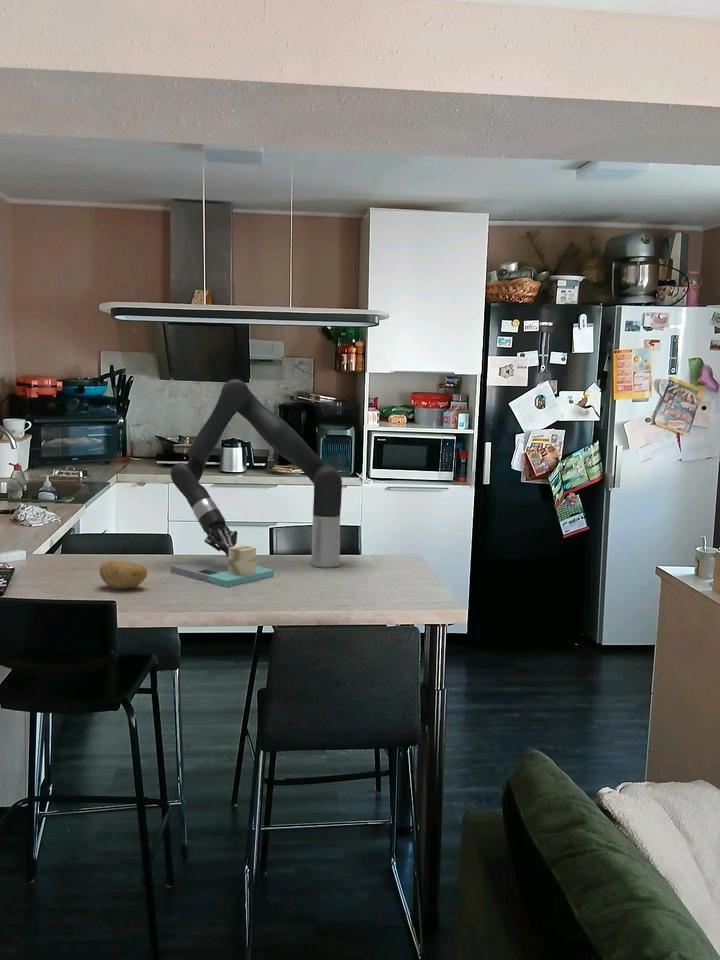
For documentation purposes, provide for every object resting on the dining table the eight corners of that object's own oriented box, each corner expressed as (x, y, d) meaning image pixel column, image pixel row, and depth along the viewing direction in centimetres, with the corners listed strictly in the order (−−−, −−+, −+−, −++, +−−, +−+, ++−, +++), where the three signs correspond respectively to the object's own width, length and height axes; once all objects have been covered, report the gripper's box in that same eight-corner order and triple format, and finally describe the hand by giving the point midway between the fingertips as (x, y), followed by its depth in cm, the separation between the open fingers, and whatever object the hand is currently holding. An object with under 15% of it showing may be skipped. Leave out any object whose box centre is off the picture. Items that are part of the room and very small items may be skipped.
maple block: (228, 573, 271) (228, 547, 270) (242, 569, 276) (242, 545, 274) (241, 576, 267) (242, 550, 266) (255, 573, 272) (256, 548, 271)
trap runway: (170, 572, 277) (170, 565, 277) (217, 562, 293) (217, 556, 293) (227, 587, 262) (227, 580, 261) (273, 576, 277) (273, 570, 277)
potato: (140, 594, 250) (140, 567, 249) (93, 590, 252) (93, 563, 251) (152, 585, 260) (152, 559, 259) (107, 582, 262) (107, 556, 261)
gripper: (198, 510, 272) (224, 555, 266) (229, 506, 282) (255, 549, 276) (186, 524, 276) (212, 569, 270) (218, 519, 286) (243, 562, 280)
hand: (234, 559), depth 273 cm, fingers closed
